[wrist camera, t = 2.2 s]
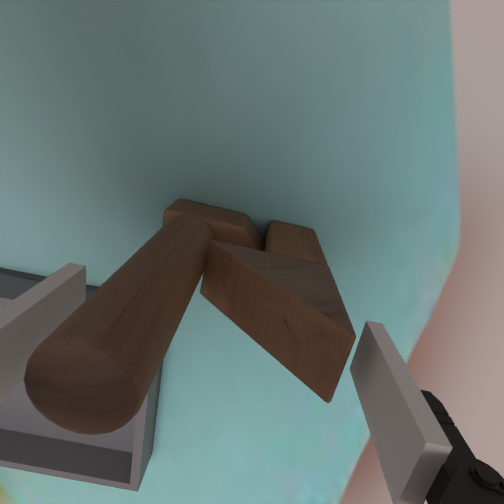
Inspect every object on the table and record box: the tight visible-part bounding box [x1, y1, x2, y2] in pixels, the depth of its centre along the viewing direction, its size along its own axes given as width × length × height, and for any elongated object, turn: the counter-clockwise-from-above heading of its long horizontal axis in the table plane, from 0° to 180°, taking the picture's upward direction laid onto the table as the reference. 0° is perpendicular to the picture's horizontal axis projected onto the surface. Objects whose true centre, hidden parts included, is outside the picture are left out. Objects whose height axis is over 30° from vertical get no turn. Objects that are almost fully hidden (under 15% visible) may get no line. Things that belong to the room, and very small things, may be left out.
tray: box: [0, 268, 163, 491], centre depth 31 cm, size 18×20×4 cm
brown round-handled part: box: [24, 199, 356, 435], centre depth 19 cm, size 4×11×18 cm, turn 78°
